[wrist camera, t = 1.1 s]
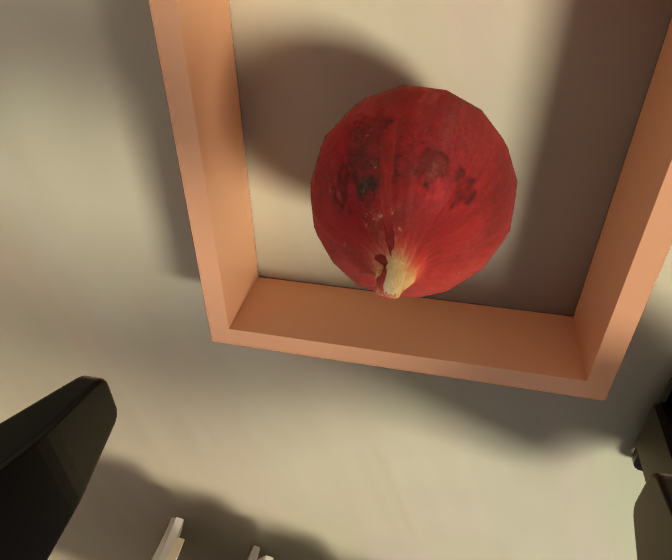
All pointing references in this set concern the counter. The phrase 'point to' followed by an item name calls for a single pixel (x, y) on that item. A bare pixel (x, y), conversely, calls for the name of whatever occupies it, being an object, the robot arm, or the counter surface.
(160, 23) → the terracotta frame
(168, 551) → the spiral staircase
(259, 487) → the counter surface
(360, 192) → the onion
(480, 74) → the counter surface
